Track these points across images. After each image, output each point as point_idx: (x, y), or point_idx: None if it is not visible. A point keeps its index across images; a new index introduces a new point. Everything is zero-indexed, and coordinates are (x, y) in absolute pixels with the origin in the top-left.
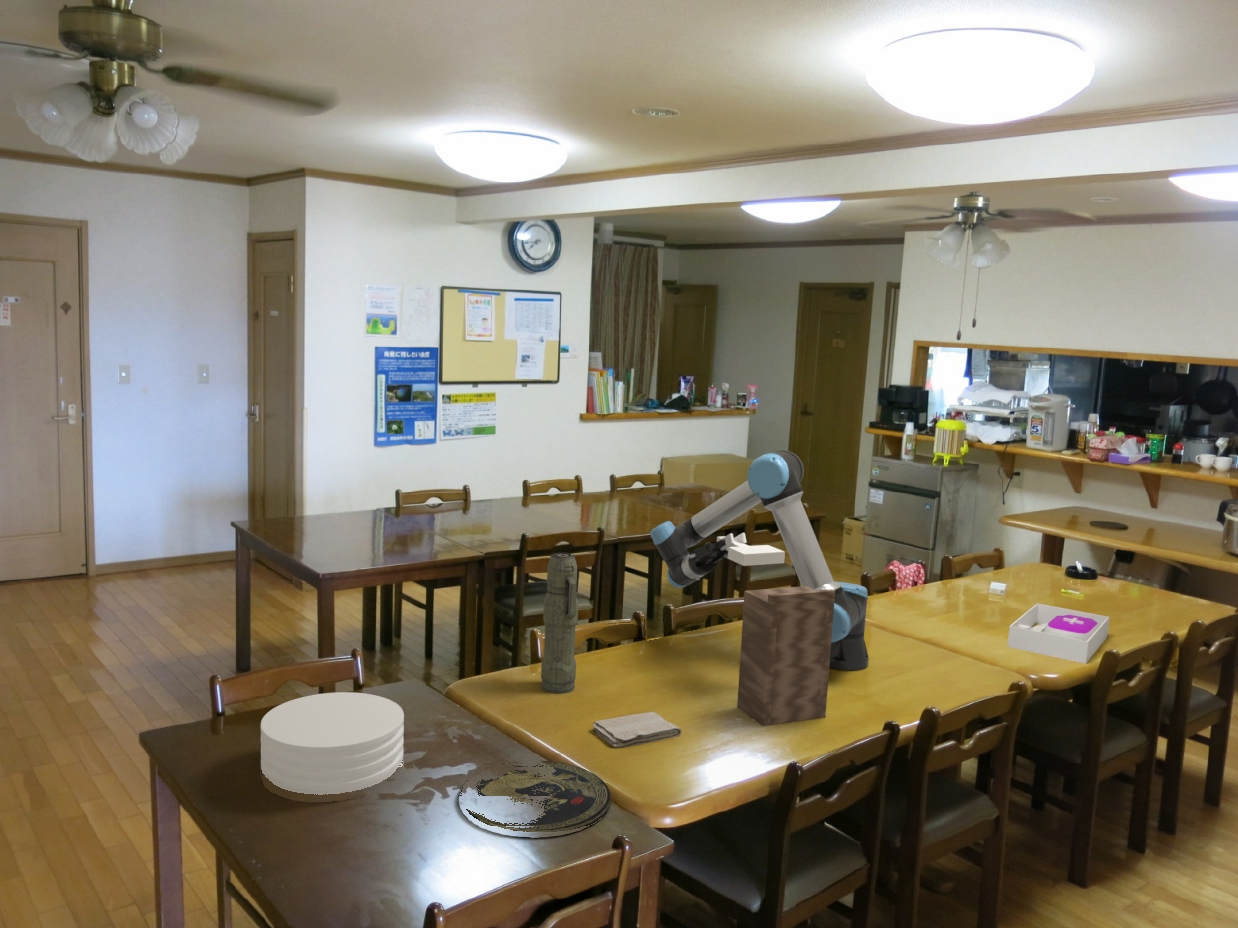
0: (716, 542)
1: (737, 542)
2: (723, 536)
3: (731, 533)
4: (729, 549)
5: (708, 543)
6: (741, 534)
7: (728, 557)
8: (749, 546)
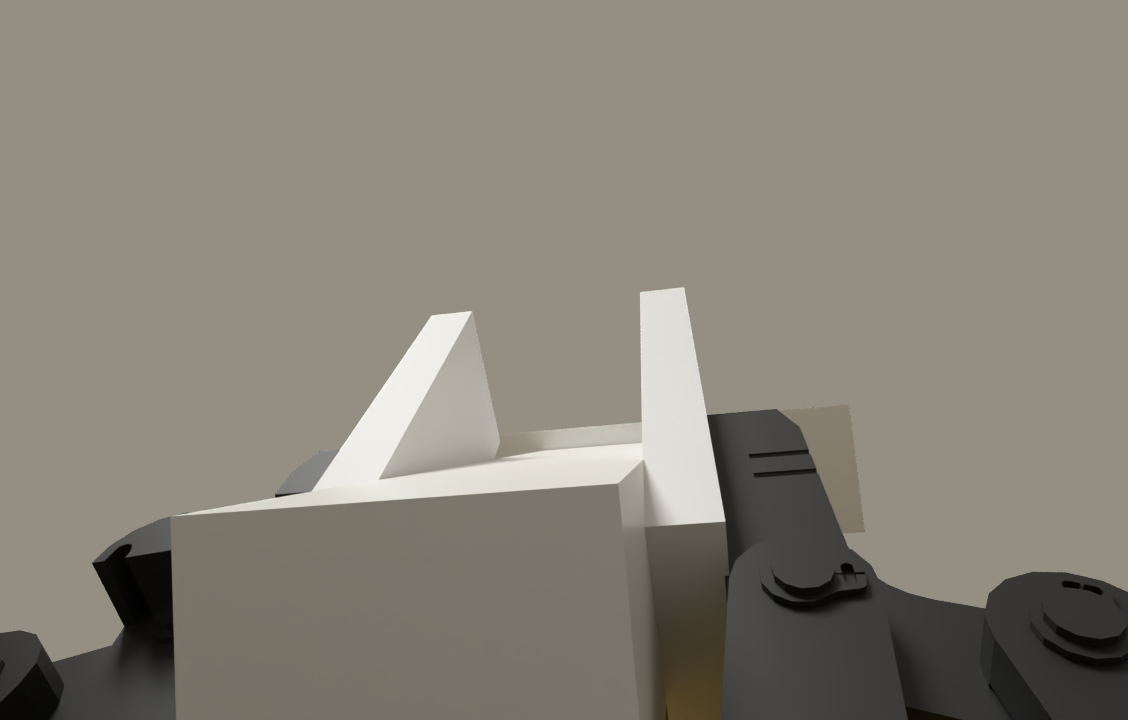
0: (814, 562)
1: (539, 457)
2: (336, 502)
3: (659, 291)
4: (845, 425)
5: (1114, 610)
6: (469, 337)
7: (859, 515)
8: (602, 426)
